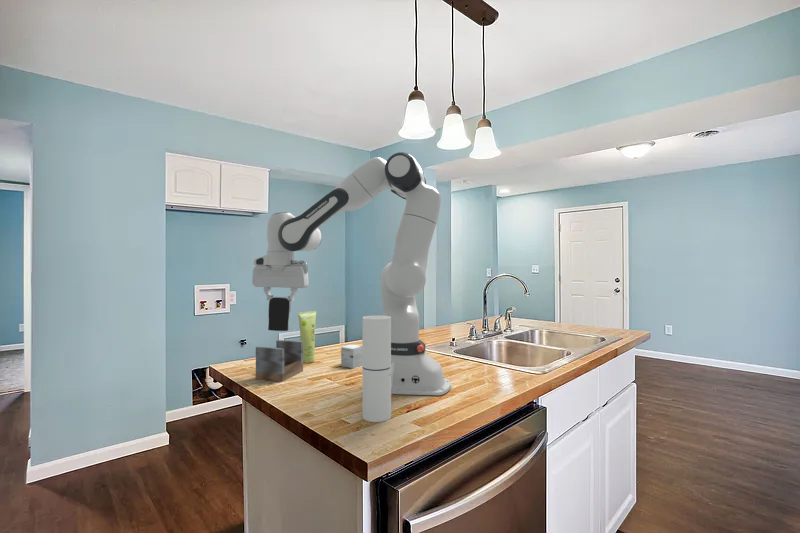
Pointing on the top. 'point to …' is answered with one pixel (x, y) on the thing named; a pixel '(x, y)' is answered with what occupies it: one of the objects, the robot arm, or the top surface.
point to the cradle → (279, 361)
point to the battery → (279, 314)
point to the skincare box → (351, 356)
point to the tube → (307, 334)
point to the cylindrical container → (376, 367)
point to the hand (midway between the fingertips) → (280, 300)
